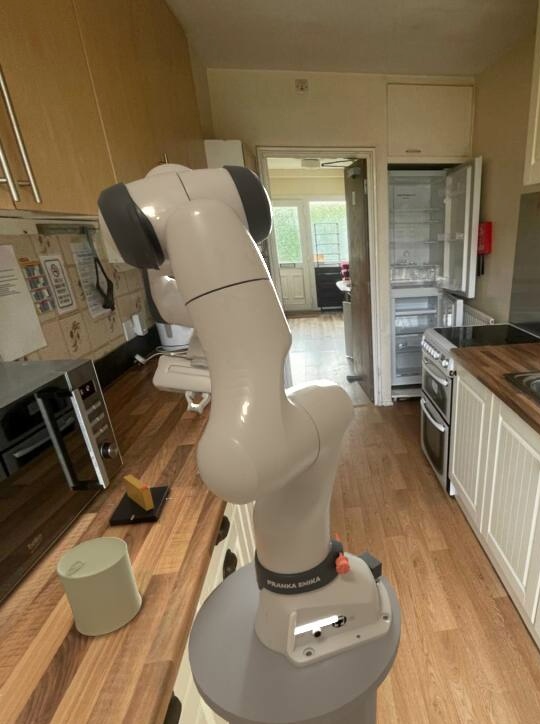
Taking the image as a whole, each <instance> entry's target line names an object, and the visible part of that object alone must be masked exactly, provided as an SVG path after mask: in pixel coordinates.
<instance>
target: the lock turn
mask: <svg viewBox="0 0 540 724" xmlns="http://www.w3.org/2000/svg"><path fill="white" fill-rule="evenodd" d="M123 482H124V485H125V490H126V491H127V494H128V496H129V497H130V498H131V499H132V500H134V501H135V502H136V503H137V504H139V505H140V506H141V507H142V508H144V509H145V510H146V511H148V510H150V509H153V508H154V505H153V500H152V496H151V491H150V488H151V487H148V485H146V484H144V483H143V482H142V481H141V480H139V478H138V479H137V478H136V477H135V476H133V475H132V474H128V475H125V476H123Z"/></svg>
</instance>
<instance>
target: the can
mask: <svg viewBox="0 0 540 724" xmlns="http://www.w3.org/2000/svg"><path fill="white" fill-rule="evenodd" d="M55 571H56V574H57V575H58V578H59V580H60V582H61V585H62V588H63V590H64V593H65V595H66V599H67V602H68V604H69V607H70V610H71V612H72V615H73V619H74V625H75V628H76V630H77V631H78V633H80V634H82V635H84V636H88V637H98V636H103V635H107V634H110V633H113V632H115V631H118V630H119V629H121V628H123V627H125V626H126V625H127V624H128V623H130V622H131V621H132V620H133V619H134V618H135V617H136V616H137V614H138V613H139V611H140V610H141V607H142V603H143V599H142V597H141V594H140V592H139V589H138V586H137V582H136V578H135V575H134V571H133V568H132V563H131V559H130V555H129V551H128V544H127V543H126V541H125V540H124V539H122V538H120V537H116V536H102V537H98V538H93V539H89V540H87V541H84V542H81V543H79V544H77V545H75V546H74V547H72V548H71V549H69V550H68V551H66V552H65V553H64V554H63V555H62V556H61V557H60V559H59V560H58V561H57V563H56V567H55Z"/></svg>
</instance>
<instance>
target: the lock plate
mask: <svg viewBox="0 0 540 724" xmlns="http://www.w3.org/2000/svg"><path fill="white" fill-rule="evenodd" d="M147 487H149V488H150V491H151V496H152V500H153V505H154V508H153V509H150V510H148V511H146V510H145V509H144V508H142V507H141V506H140V505H139V504H137V503H136V502H135V501H134V500H132V499H131V498H130V497H129V496H128V494H127V490H126V491H125V493H124V494H123V496H122V498H121V499H120V501H119V502H118V504H117V506H116V508H115V510H114V511H113V513H112V515H111V516H110V518H109V520H108V523H109V525H110V527H119V526H127V525H136V524H144V523H145V524H146V523H155V522H156V523H157V522H159V521H158V520H159V518H160V515H161V513H162V511H163V508H164V506H165V504H166V501H170V500H174V497H169V494H170V491H171V489H170V486H169V485H163V486H162V485H161V486H153V487H152V486H151V487H150V485H147ZM115 505H116V503H107V507H109V506H110V507H111V506H115Z"/></svg>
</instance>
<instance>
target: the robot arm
mask: <svg viewBox="0 0 540 724" xmlns="http://www.w3.org/2000/svg"><path fill="white" fill-rule="evenodd" d="M96 204H97V206H98V210H97V215H98V216H97V217H98V222H99V226H100V230H101V233H102V235H103V237H104V239H105V241H106V242H107V244H108V245H109V246H110V248H111V249H112V250H113V251H114V252H115V254H117V256H119V257H120V258H121V259H122V260H123V262H124V263H125V264H128V265H129V266H132V267H134V268H135V269H140V274H141V281H142V285H143V291H144V309H145V312H146V314H147V315H148V316H149V317H150V318H151V319H152V321H154V322H155V323H156V324H159V325H160V324H162V325H171V326H172V325H174V326H180V327H185V328H190V329H193V334H192V336H191V337H190V340H189V344H188V348H187V351H186V352H187V353H175V352H166V353H164V354H162V355H160V357H159V359H158V362H157V368H156V370H155V372H154V375H153V377H152V384H153V386H154V387H155V388H156V389H157V390H158V391H162V392H170V393H176V394H177V393H178V394H184V396H185V399H186V401H187V408H186V411H187V413H193V414H200V415H202V414H203V411H204V408H205V407H206V406H207V405H208V404H209V403H210V409H209V415H208V419H207V423H206V426H205V429H204V431H203V433H202V435H201V438H200V439H199V441H198V444H197V447H196V453H195V454H196V455H195V457H196V458H195V460H196V461H195V462H196V467H197V471H198V474H199V477H200V479H201V481H202V483H203V484H204V486H205V487H206V488H207V489H208V490H209V491H210V492H211V494H212V495H214V496H215V497H217V498H219V499H221V500H222V501H224V502H226V503H229V504H232V505H238V506H244V505H248V504H250V503H252V502H254V505H253V510H252V524H253V533H254V540H255V550H254V558H253V561H254V567H255V575H256V582H257V583H258V588H259V602H258V609H257V613H256V616H255V622H254V626H255V632H256V634H257V637H258V638H259V640H260V641H261V642H262V643H263V644H264V645H265V646H266V647H267V648H269V649H271V650H273V651H275V652H277V653H280V654H282V655H284V656H286V657H287V659H288V660H289V661H290V662H291V663H292V664H293V665H294V666H296V667H299V668H302V667H306V666H308V665H311V664H314V663H316V662H319V661H322V660H324V659H327V658H330V657H333V656H335V655H338V654H341V653H343V652H346V651H349V650H351V649H354V648H357V647H360V646H362V645H365V644H368V643H370V642H373V641H376V640H378V639H381V638H384V637H386V636H387V635H388V634H389V632H390V629H391V625H392V609H391V603H390V599H389V596H388V593H387V591H386V588H385V586H384V585H383V583H382V581H381V580H380V579H379V578H378V577H380V576H381V575H382V574H383V573H382V572H383V563H382V561H380V560H378V558H376V557H375V556H373V555H372V554H371V553H370V552H368V550H365V551H364V552H362V553H361V554H359V555H357V556H358V557H355V556H356V555H355V556H352V555H349V554H346V553H344V552H345V551H344V545H343V543H342V542H341V541H340V536H339V534H338V533H337V532H335V538H334V537H332V536H331V501H332V495H333V490H334V486H335V482H336V481H335V480H336V477H337V472H338V469H339V463H340V459H341V455H342V451H343V448H344V445H345V443H346V440H347V437H348V435H349V433H350V431H351V429H352V427H353V425H354V423H355V419H356V418H355V416H356V411H355V406H354V402H353V401H352V399H351V396H350V395H349V393H348V392H347V391H346V390H345V389H344V387H342V386H341V385H340V384H338V383H336V382H334V381H331V380H327V379H323V380H322V379H321V380H312V381H305V382H300V383H298V384H295V385H292V386H291V387H288V388H286V386H285V385H286V384H285V363H286V359H287V356H288V354H289V352H290V350H291V348H292V344H293V335H292V331H291V329H290V326H289V323H288V321H287V318H286V315H285V313H284V310H283V307H282V304H281V301H280V299H279V297H278V294H277V291H276V288H275V286H274V282H273V280H272V277H271V275H270V272H269V270H268V267H267V265H266V263H265V261H264V258H263V256H262V254H261V252H260V250H259V248H258V246H257V245H258V244H260V243H262V242H264V241H265V240H267V239H268V238H269V237H270V235H271V231H272V229H273V211H272V210H273V209H272V203H271V199H270V197H269V194H268V191H267V190H266V188H265V187H264V184H263V182H262V181H261V179H260V178H259V176H258V175H257V174H256V173H255V172H253V170H251V169H250V168H248V167H247V166H242V165H231V164H224V165H223V166H222V168H221V167H220V168H214V167H213V168H199V169H191V168H189V167H187V166H185V165H182V164H178V163H162V164H159V165H157V166H155V167H153V168H152V169H150V170H149V171H148V172H147V174H146V175H145V176H144V178H140V179H137V180H134V181H131V182H128V183H125V182H123V181H120V182H118V183H115V184H113V185H110V186H108V187H106V188H104V189H102V190H101V191H100V193H99V196H98V198H97V201H96ZM171 277H173V278H171ZM196 396H201V398H202V400H201V401H200V402H199V403H193V400H192V399H195V397H196ZM376 583H377V584H376ZM384 619H387V620H384ZM307 655H311V656H307Z"/></svg>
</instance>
